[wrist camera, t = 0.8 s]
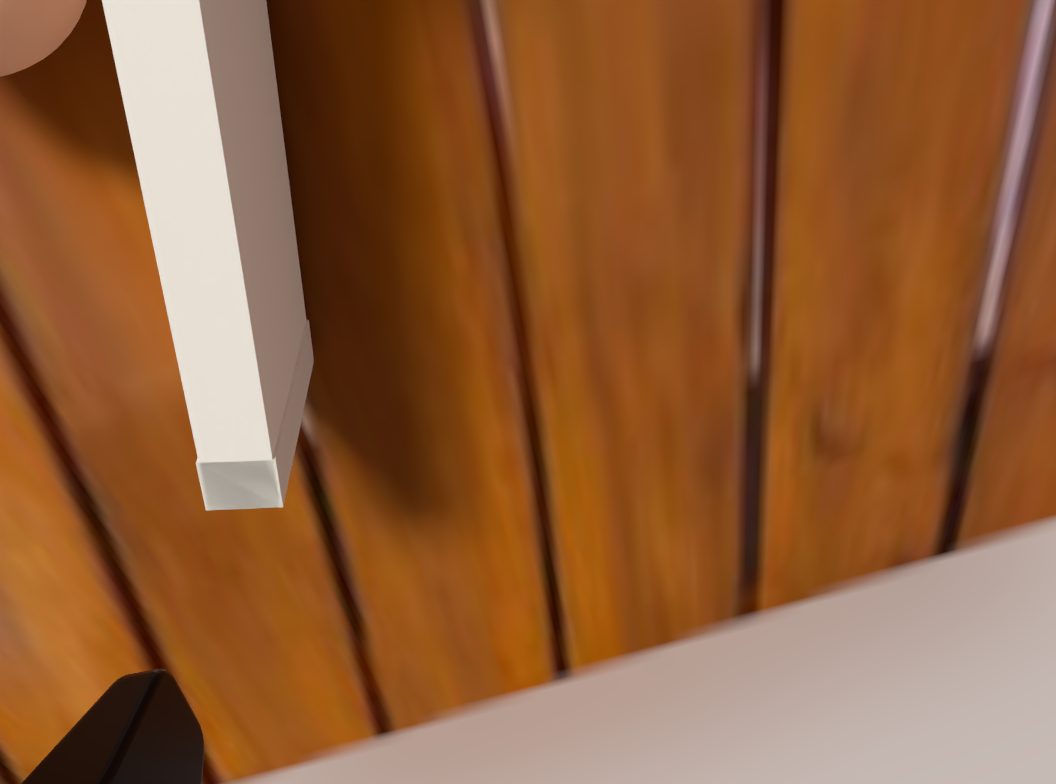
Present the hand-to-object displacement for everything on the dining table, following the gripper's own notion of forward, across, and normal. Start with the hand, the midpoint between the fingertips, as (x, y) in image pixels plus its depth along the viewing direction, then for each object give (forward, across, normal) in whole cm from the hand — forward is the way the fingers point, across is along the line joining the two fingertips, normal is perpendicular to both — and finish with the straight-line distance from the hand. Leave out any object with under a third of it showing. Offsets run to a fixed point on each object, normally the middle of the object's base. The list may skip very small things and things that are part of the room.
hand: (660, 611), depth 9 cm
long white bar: (+12, +5, -3) cm, 13 cm away
